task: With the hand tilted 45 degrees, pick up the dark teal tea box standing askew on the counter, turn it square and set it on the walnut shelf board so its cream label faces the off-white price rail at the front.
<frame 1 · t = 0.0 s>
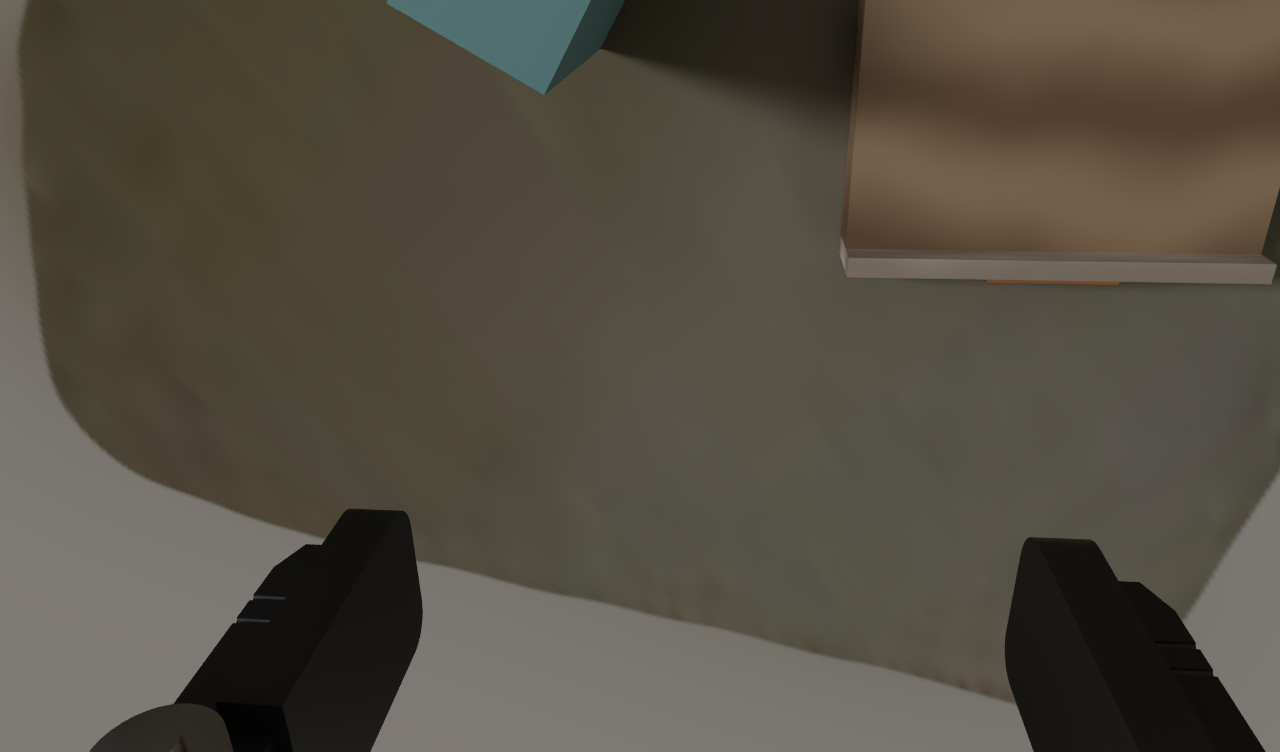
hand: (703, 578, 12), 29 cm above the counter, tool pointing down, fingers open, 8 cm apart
shelf: (1060, 88, 37), on the counter
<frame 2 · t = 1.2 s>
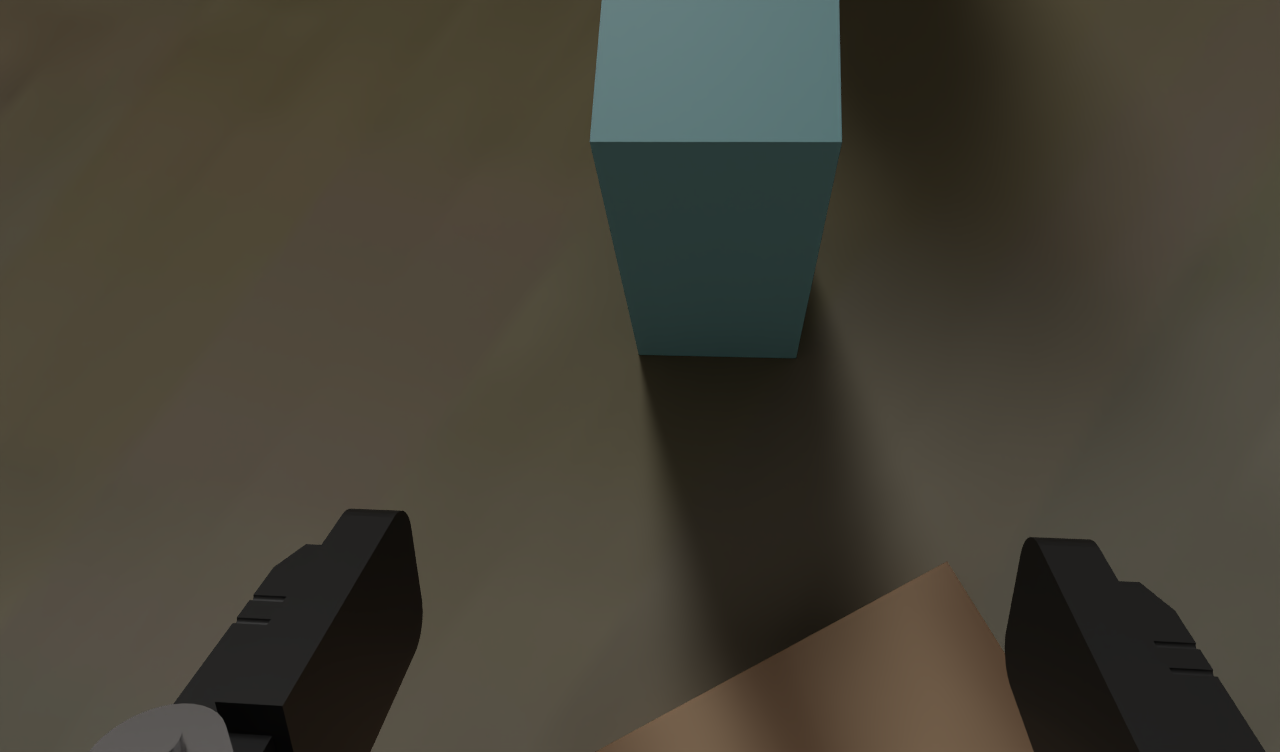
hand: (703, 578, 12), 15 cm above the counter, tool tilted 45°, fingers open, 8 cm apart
tea box: (718, 285, 31), on the counter
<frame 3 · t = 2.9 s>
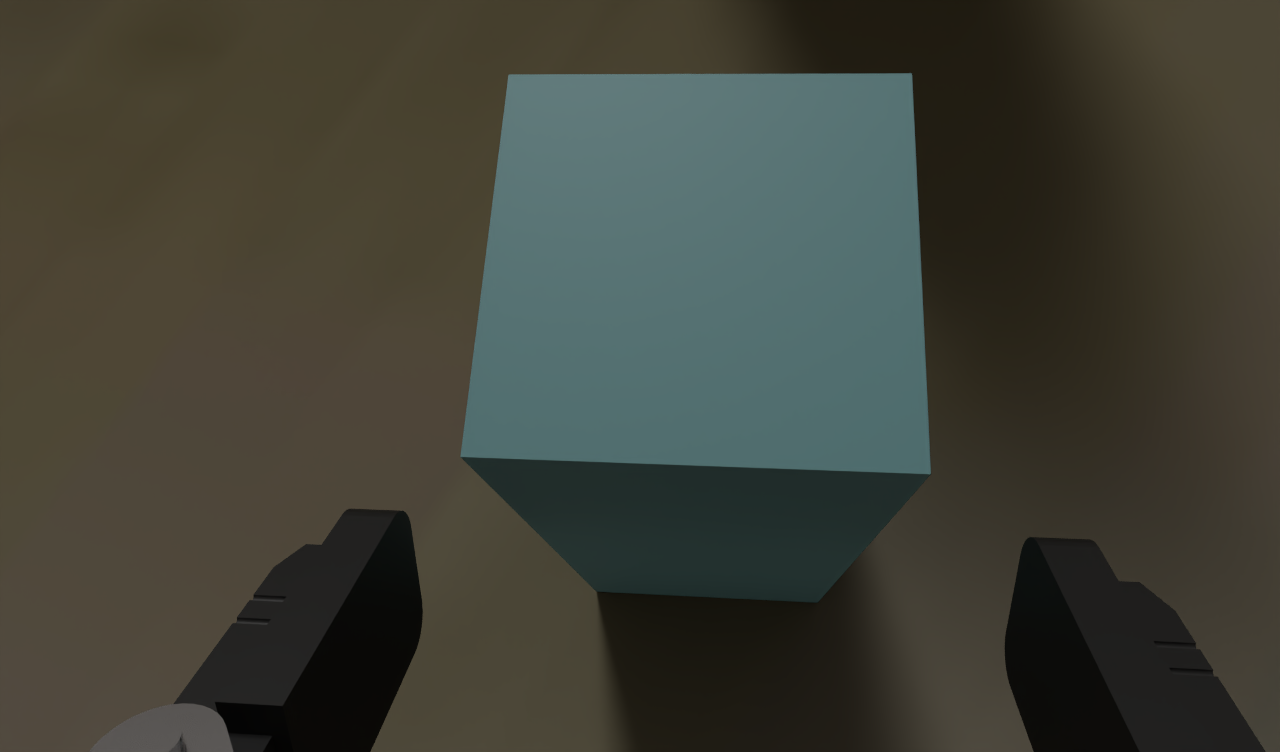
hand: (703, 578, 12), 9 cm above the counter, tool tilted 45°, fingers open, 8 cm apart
tea box: (709, 488, 22), on the counter
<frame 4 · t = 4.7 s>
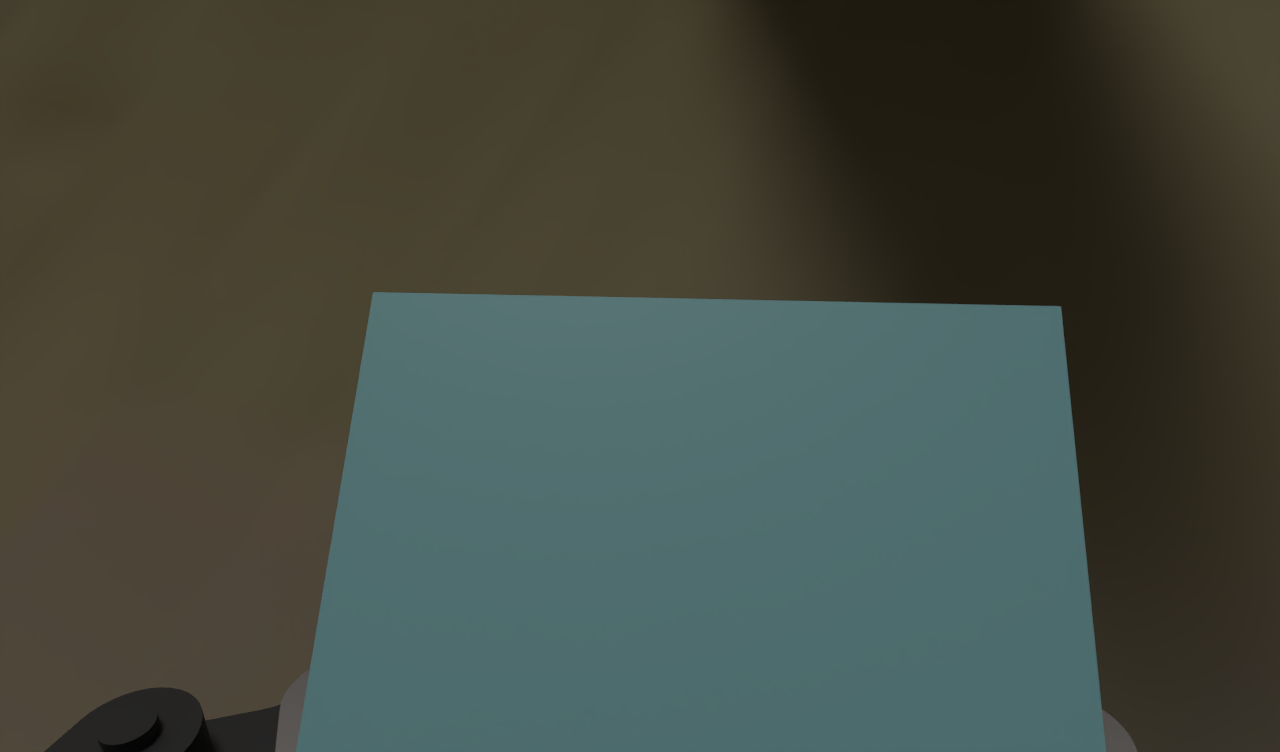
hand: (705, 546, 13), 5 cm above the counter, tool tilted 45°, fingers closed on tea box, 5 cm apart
tea box: (709, 693, 17), on the counter, touching gripper
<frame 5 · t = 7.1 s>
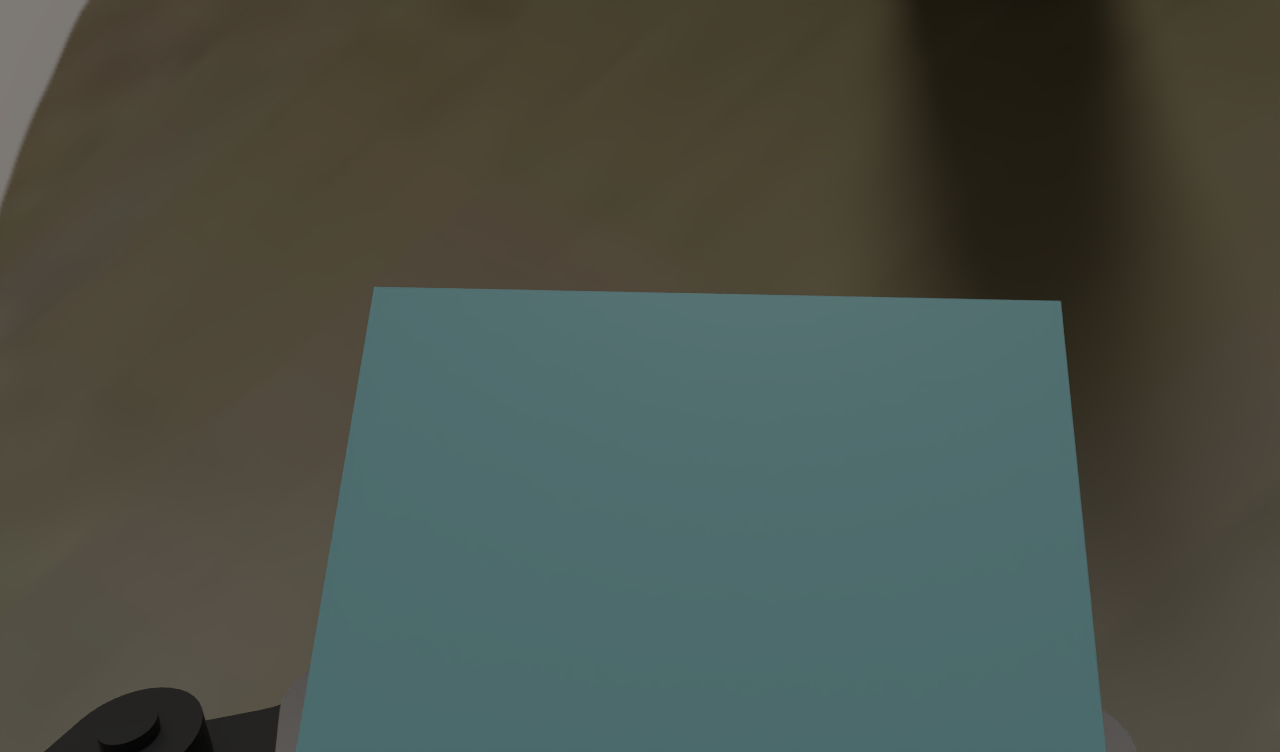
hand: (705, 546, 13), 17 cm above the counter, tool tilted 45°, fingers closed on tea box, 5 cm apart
tea box: (709, 691, 17), point 12 cm above the counter, touching gripper
when the fingers open (9 cm above the counter, at t = 9.8 s): tea box drops 1 cm, resting on shelf.
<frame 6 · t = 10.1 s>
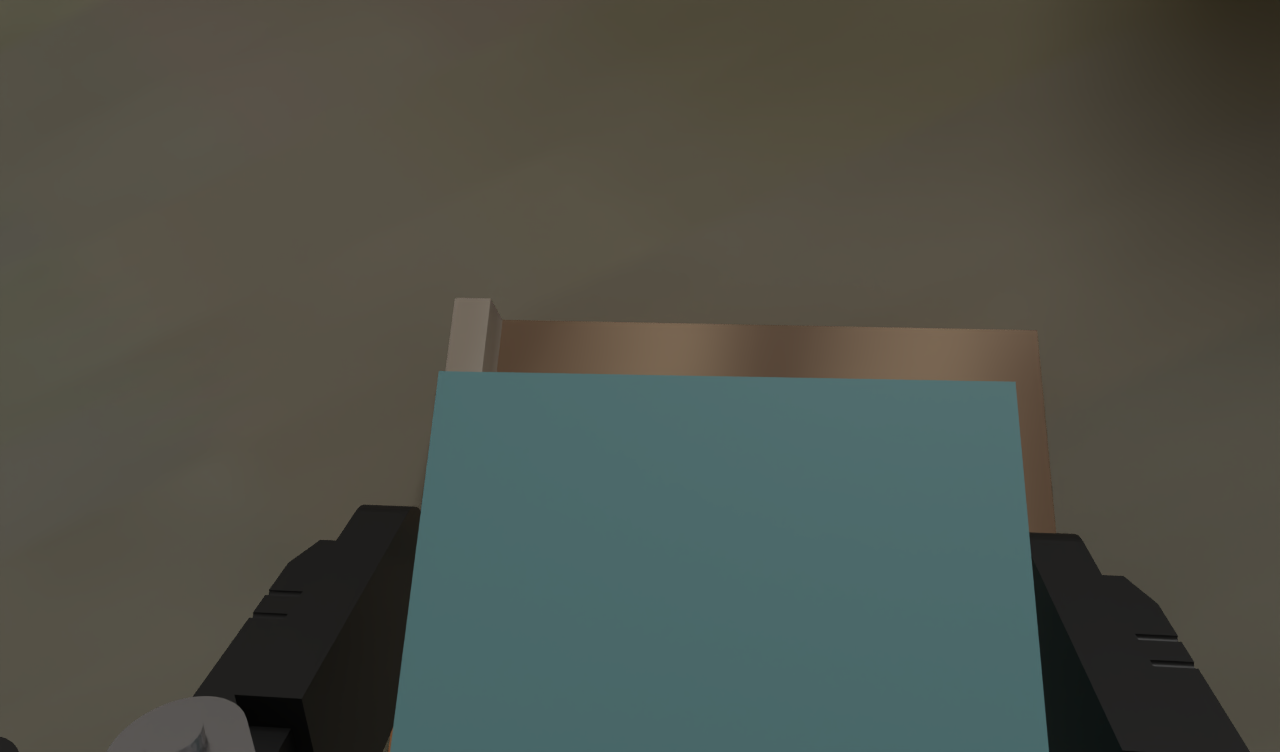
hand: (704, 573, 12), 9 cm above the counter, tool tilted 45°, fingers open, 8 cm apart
tea box: (718, 699, 19), point 2 cm above the counter, touching shelf
shelf: (754, 699, 20), on the counter
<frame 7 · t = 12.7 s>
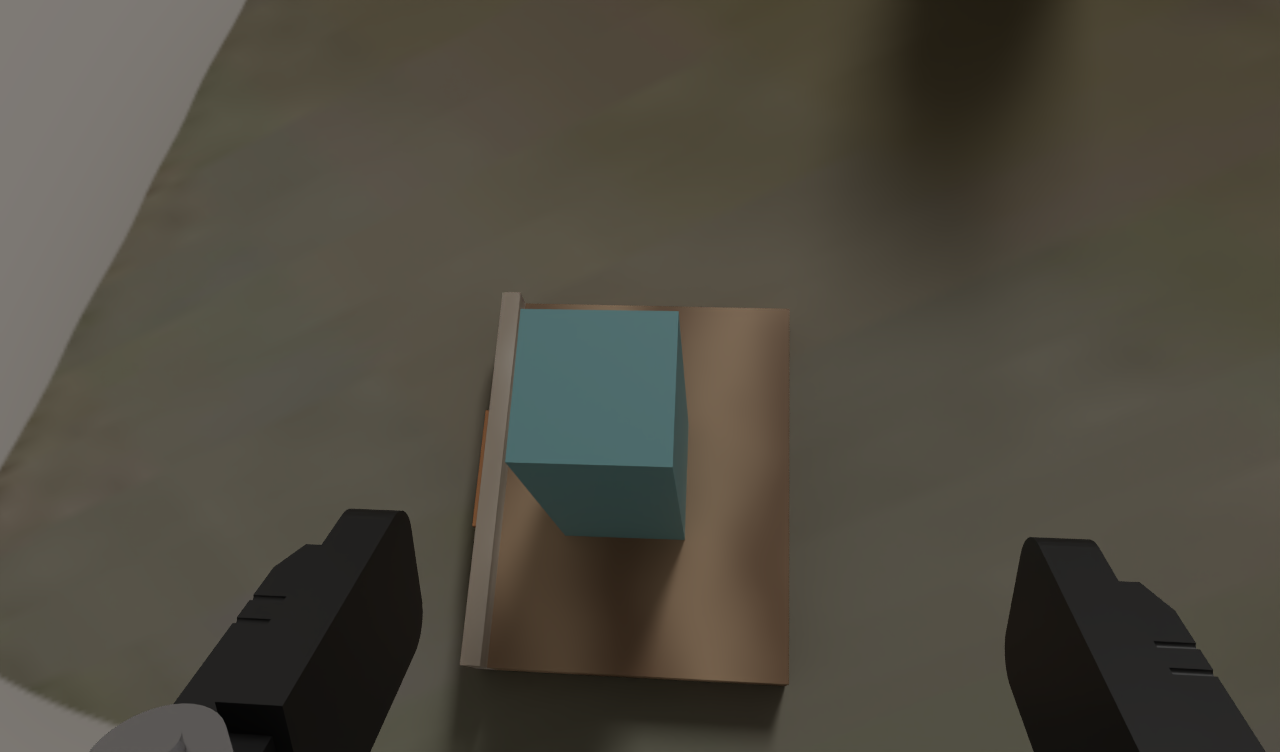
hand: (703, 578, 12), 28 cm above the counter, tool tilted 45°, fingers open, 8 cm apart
tea box: (627, 479, 40), point 2 cm above the counter, touching shelf
shelf: (649, 489, 42), on the counter
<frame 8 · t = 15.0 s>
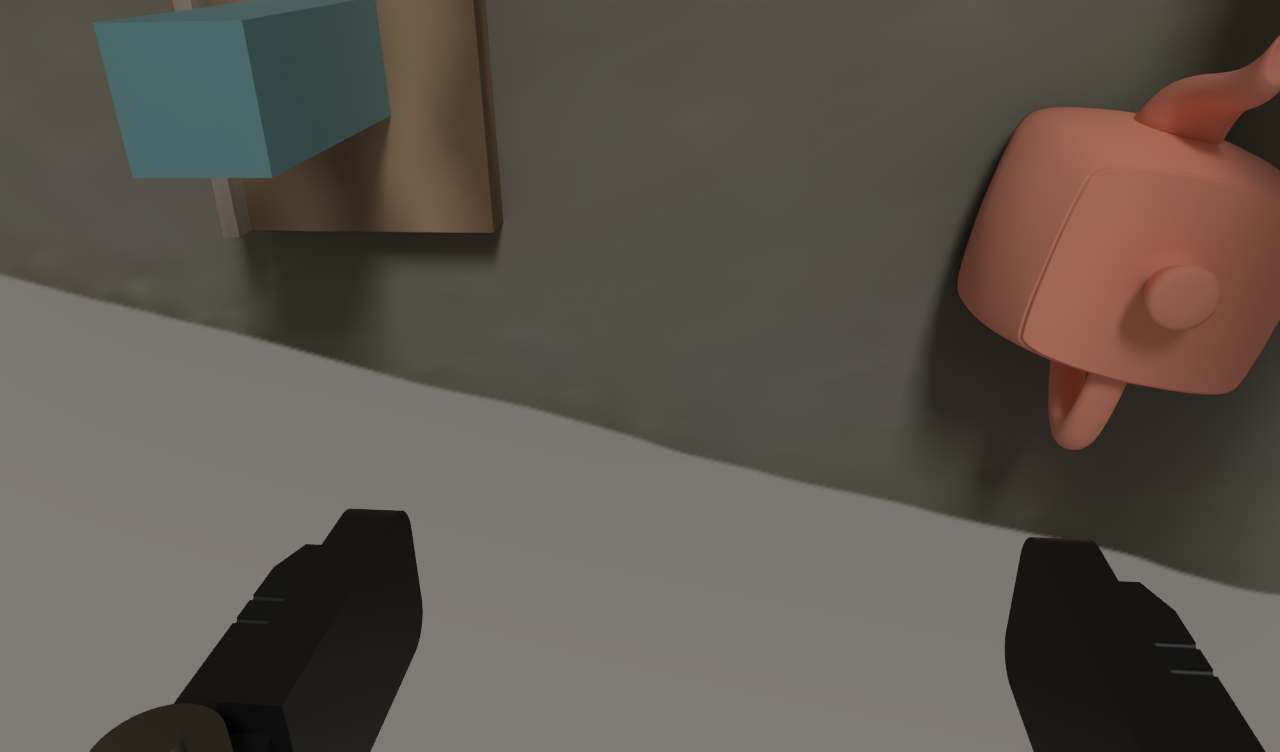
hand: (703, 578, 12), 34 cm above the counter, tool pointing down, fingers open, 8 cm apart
tea box: (328, 58, 42), point 2 cm above the counter, touching shelf
shelf: (362, 51, 43), on the counter
teapot: (1095, 203, 43), on the counter
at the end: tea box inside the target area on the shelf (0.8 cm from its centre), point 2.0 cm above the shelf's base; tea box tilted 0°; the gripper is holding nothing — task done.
